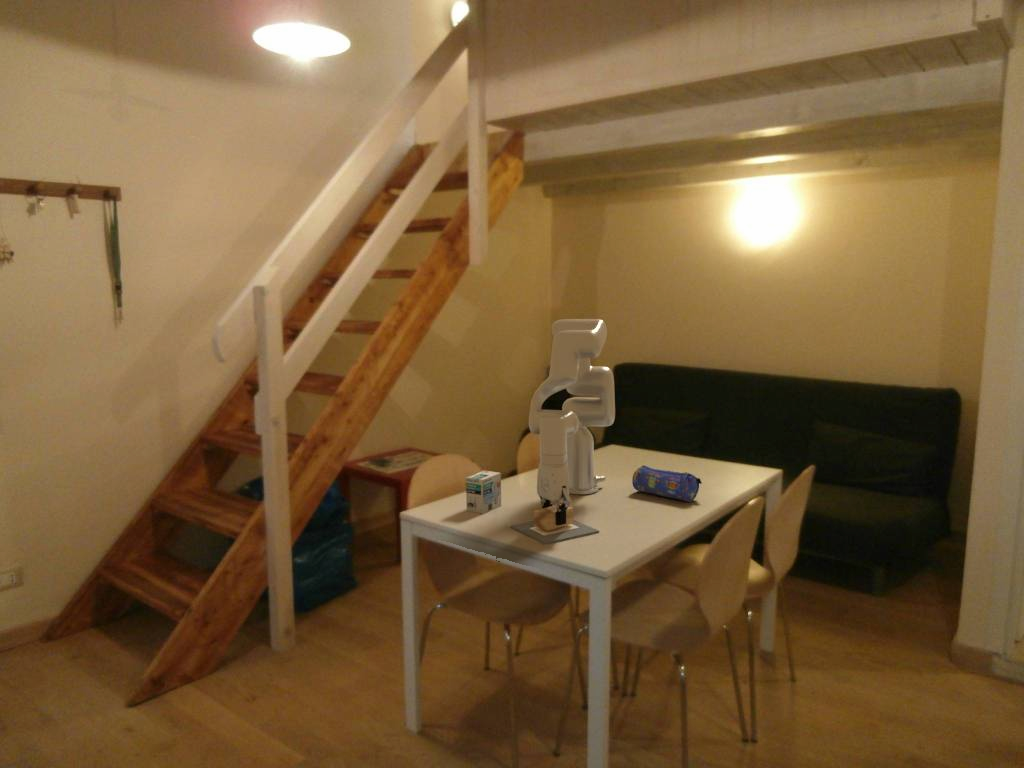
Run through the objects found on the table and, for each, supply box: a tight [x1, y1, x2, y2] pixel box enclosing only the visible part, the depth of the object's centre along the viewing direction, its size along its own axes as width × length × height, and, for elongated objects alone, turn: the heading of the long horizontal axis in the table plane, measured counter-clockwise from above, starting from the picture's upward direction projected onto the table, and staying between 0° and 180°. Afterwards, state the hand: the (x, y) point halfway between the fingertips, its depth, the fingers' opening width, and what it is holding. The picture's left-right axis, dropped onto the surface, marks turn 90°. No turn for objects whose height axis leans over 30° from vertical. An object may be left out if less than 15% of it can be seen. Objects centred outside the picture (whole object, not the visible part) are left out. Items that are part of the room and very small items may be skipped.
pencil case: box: [631, 464, 703, 503], centre depth 241 cm, size 22×9×10 cm, turn 45°
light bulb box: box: [465, 470, 502, 514], centre depth 232 cm, size 11×7×11 cm, turn 149°
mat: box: [510, 519, 600, 545], centre depth 210 cm, size 18×18×1 cm
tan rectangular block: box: [533, 503, 575, 531], centre depth 210 cm, size 6×10×4 cm, turn 130°
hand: (554, 520), depth 210 cm, fingers closed on tan rectangular block, 6 cm apart
